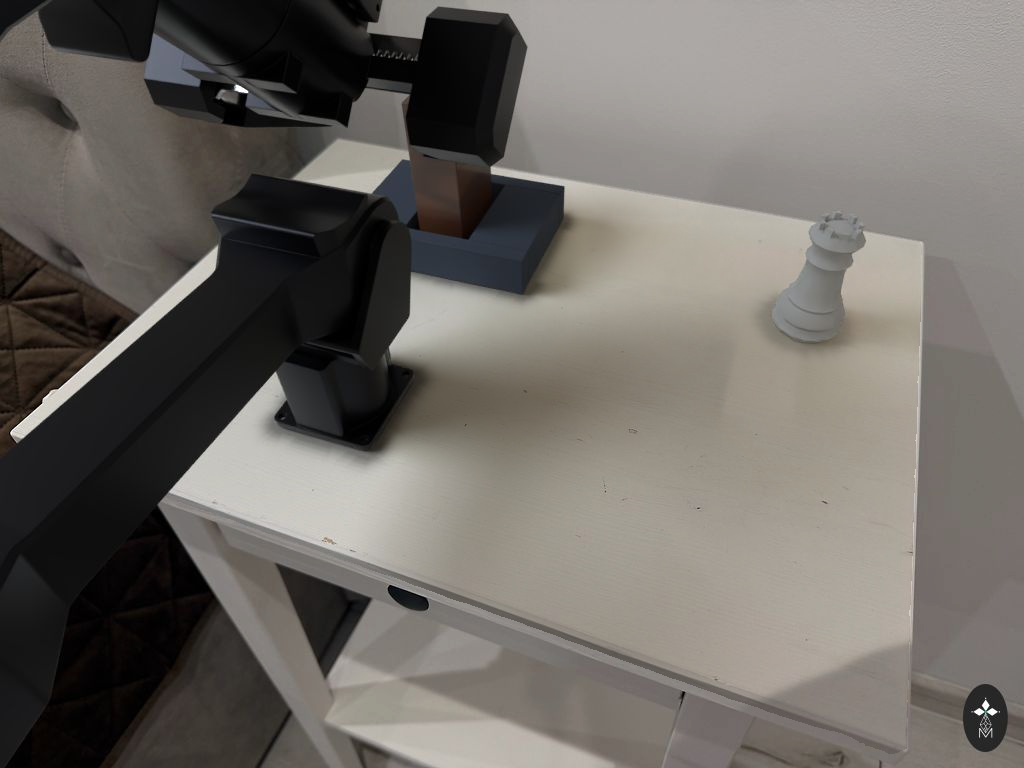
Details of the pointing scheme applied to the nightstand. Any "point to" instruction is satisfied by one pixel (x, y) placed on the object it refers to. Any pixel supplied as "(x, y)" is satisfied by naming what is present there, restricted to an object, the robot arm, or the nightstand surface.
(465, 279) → the blue rectangular frame
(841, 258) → the rook chess piece
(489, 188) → the brown wooden block
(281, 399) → the nightstand surface
